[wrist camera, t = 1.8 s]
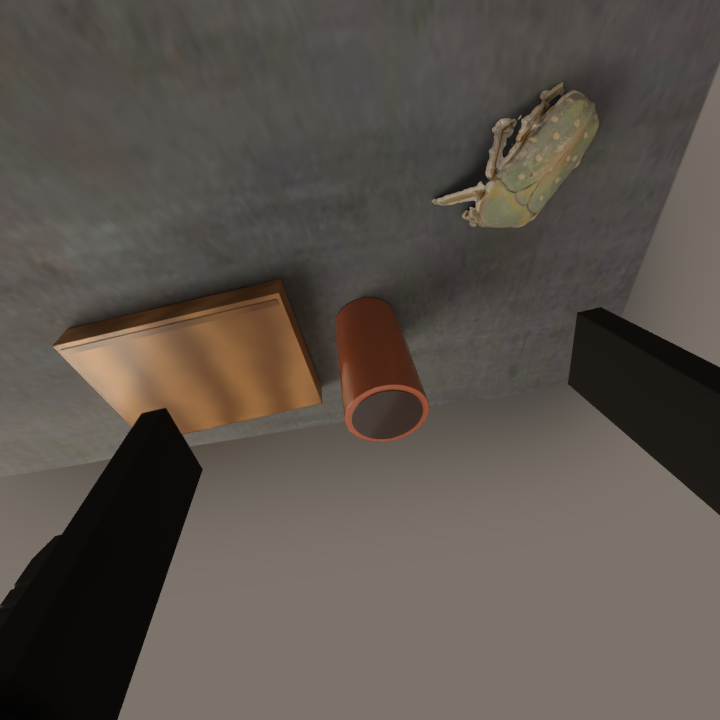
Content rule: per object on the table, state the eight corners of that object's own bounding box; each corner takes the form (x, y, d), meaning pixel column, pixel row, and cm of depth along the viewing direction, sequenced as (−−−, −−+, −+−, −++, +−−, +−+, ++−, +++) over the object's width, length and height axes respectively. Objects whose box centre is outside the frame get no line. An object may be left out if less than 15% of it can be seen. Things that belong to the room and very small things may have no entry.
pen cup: (342, 356, 38) (354, 450, 29) (327, 306, 34) (336, 397, 25) (400, 342, 38) (432, 433, 29) (393, 290, 34) (426, 377, 25)
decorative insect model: (432, 112, 24) (471, 134, 21) (572, 73, 25) (628, 87, 22) (430, 231, 31) (459, 261, 28) (541, 196, 32) (581, 220, 29)
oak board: (153, 425, 41) (146, 443, 39) (66, 329, 32) (51, 347, 30) (321, 387, 41) (322, 403, 39) (280, 278, 32) (278, 293, 30)
